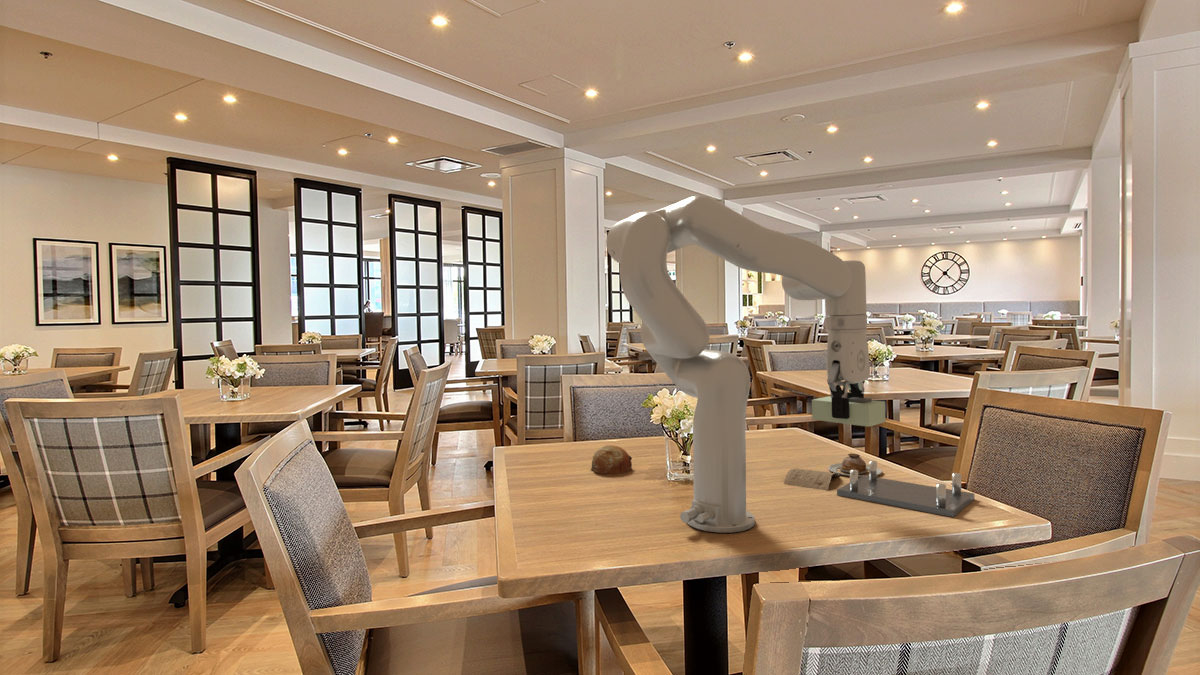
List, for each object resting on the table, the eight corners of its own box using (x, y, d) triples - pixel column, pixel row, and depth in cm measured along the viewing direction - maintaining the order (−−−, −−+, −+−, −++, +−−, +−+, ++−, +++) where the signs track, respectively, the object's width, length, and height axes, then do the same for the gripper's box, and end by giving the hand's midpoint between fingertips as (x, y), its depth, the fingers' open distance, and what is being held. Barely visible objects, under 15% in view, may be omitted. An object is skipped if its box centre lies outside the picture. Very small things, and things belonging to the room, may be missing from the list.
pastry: (853, 465, 159) (853, 447, 158) (893, 476, 148) (893, 457, 148) (817, 471, 154) (817, 452, 153) (856, 483, 143) (856, 462, 143)
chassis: (953, 517, 117) (953, 489, 117) (836, 495, 132) (836, 470, 132) (974, 499, 128) (974, 473, 127) (864, 480, 143) (864, 457, 143)
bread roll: (593, 480, 161) (580, 453, 159) (627, 460, 163) (614, 433, 162) (605, 490, 151) (591, 462, 150) (641, 469, 154) (627, 440, 153)
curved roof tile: (828, 494, 135) (828, 481, 135) (780, 487, 140) (780, 475, 140) (841, 478, 147) (841, 467, 147) (797, 473, 152) (797, 462, 152)
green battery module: (869, 426, 117) (868, 401, 117) (812, 419, 127) (811, 395, 126) (885, 422, 121) (884, 397, 121) (829, 415, 130) (828, 392, 130)
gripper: (846, 326, 114) (849, 424, 115) (882, 322, 127) (884, 410, 127) (807, 326, 119) (810, 420, 120) (845, 322, 132) (847, 407, 133)
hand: (848, 414), depth 124 cm, fingers closed on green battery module, 6 cm apart
